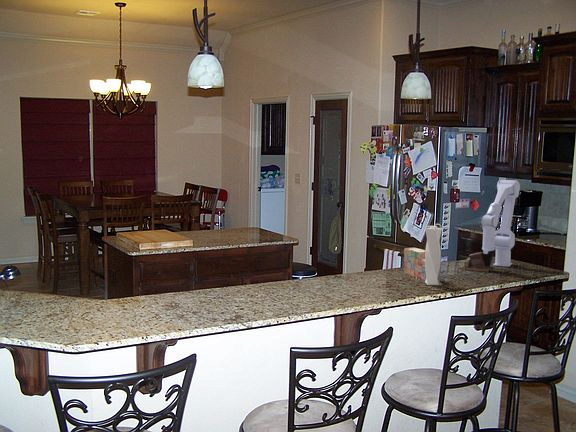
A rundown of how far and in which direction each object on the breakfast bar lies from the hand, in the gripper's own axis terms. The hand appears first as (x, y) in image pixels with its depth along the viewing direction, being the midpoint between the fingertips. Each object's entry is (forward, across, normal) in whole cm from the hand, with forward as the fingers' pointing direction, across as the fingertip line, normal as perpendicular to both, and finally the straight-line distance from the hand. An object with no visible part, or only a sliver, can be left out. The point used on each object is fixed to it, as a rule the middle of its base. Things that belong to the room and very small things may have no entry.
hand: (487, 266), depth 321 cm
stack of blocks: (+3, -31, +24) cm, 40 cm away
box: (+1, 0, +4) cm, 4 cm away
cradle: (+2, 0, +4) cm, 4 cm away
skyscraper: (+3, -44, +16) cm, 47 cm away
